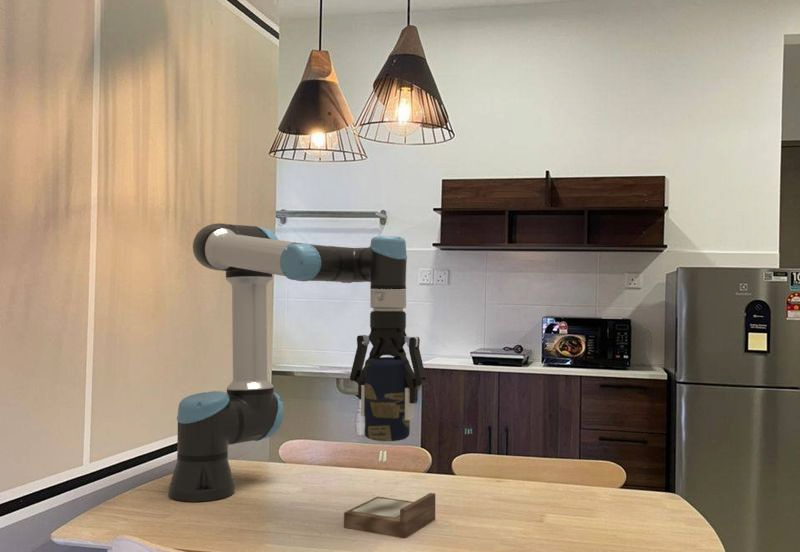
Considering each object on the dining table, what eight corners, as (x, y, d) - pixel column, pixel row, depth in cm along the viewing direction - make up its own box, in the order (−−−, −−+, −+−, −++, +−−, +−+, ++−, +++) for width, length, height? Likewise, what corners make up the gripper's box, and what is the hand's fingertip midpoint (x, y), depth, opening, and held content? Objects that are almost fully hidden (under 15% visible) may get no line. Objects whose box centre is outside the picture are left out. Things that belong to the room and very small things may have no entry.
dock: (343, 527, 150) (344, 500, 150) (377, 510, 163) (377, 485, 163) (405, 538, 144) (405, 510, 144) (435, 519, 156) (435, 493, 156)
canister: (404, 445, 149) (405, 355, 149) (358, 443, 150) (359, 354, 151) (413, 436, 158) (413, 352, 159) (370, 434, 160) (370, 351, 160)
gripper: (333, 309, 157) (332, 415, 156) (428, 311, 147) (427, 424, 146) (351, 309, 163) (350, 410, 163) (443, 310, 153) (443, 419, 153)
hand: (387, 417), depth 154 cm, fingers closed on canister, 10 cm apart
